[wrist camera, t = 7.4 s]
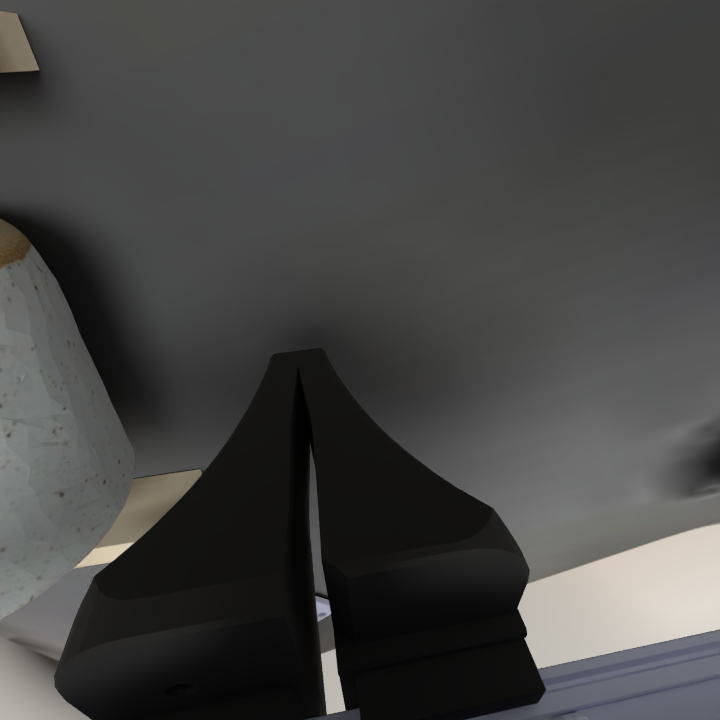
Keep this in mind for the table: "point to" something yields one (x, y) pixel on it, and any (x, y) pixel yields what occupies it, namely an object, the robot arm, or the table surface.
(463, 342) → the table surface
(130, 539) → the bracket
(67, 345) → the ceramic mug
